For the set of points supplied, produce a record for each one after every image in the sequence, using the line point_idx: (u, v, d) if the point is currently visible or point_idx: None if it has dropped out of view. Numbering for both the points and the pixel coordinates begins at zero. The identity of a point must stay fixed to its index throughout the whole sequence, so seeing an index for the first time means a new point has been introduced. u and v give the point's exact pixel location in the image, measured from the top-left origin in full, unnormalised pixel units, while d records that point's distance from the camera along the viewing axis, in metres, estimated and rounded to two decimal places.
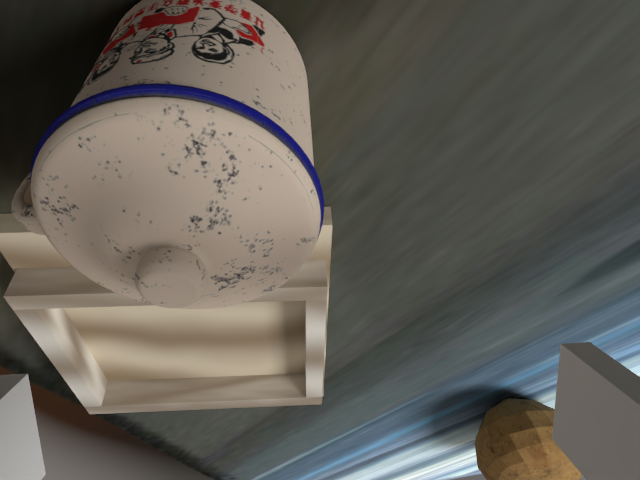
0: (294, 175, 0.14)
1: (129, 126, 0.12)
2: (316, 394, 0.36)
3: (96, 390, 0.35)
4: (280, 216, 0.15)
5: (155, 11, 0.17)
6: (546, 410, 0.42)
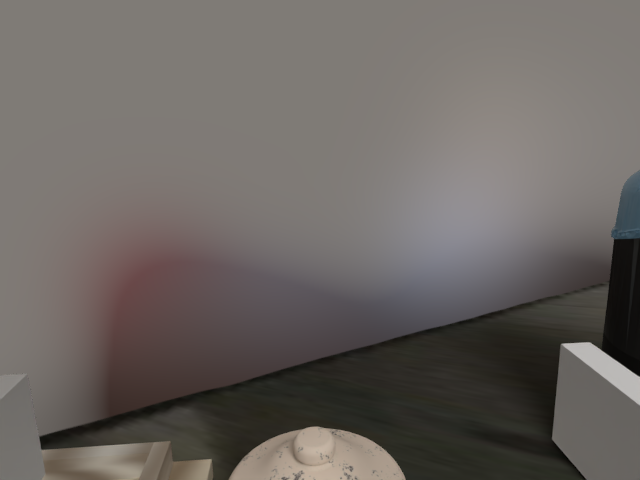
0: None
1: (392, 464, 0.24)
2: None
3: None
4: None
5: None
6: None
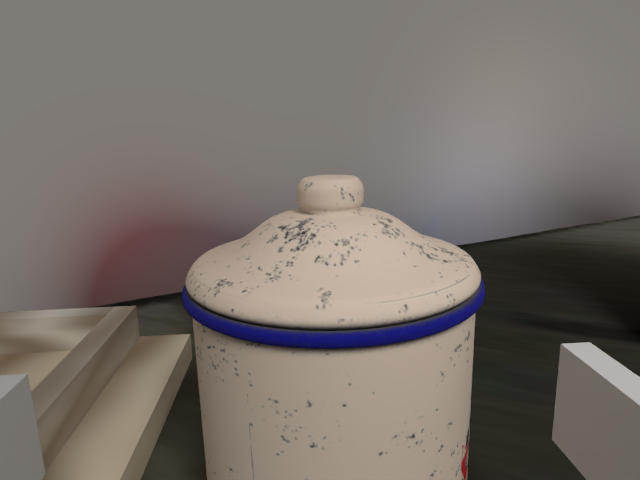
0: (433, 291, 0.12)
1: (448, 243, 0.16)
2: None
3: None
4: (376, 274, 0.12)
5: None
6: None
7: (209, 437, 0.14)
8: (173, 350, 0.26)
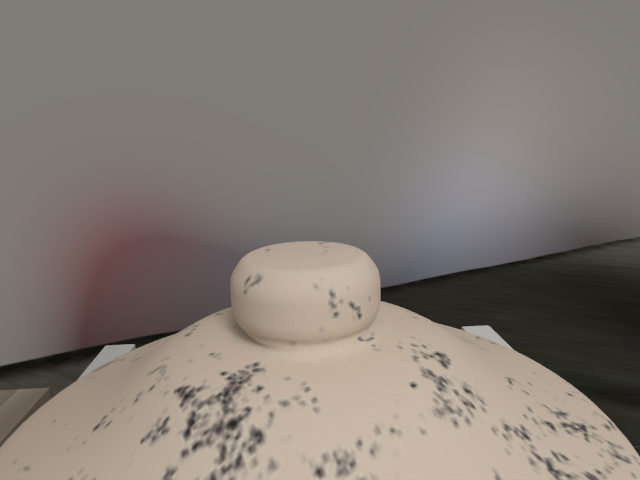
0: None
1: (546, 372, 0.08)
2: None
3: None
4: None
5: None
6: None
7: None
8: None
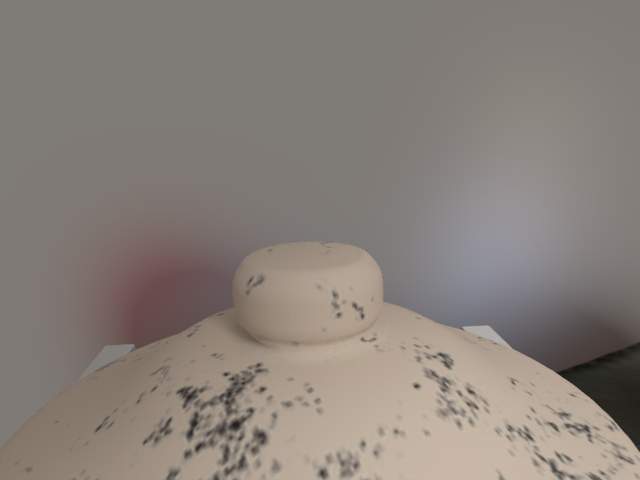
0: None
1: (549, 372, 0.08)
2: None
3: None
4: None
5: None
6: None
7: None
8: None
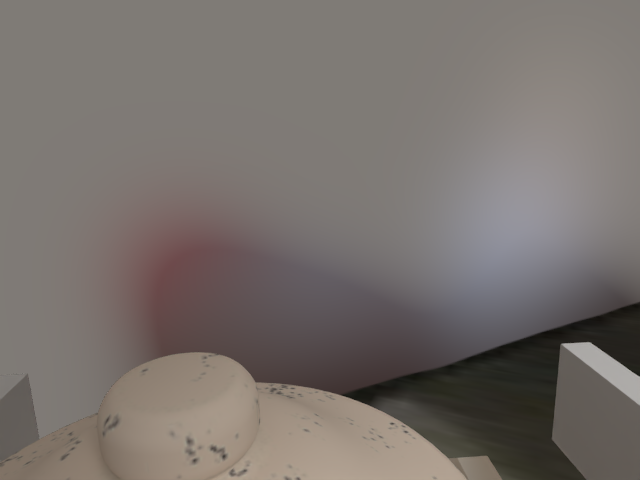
0: None
1: (449, 473, 0.08)
2: None
3: None
4: None
5: None
6: None
7: None
8: None
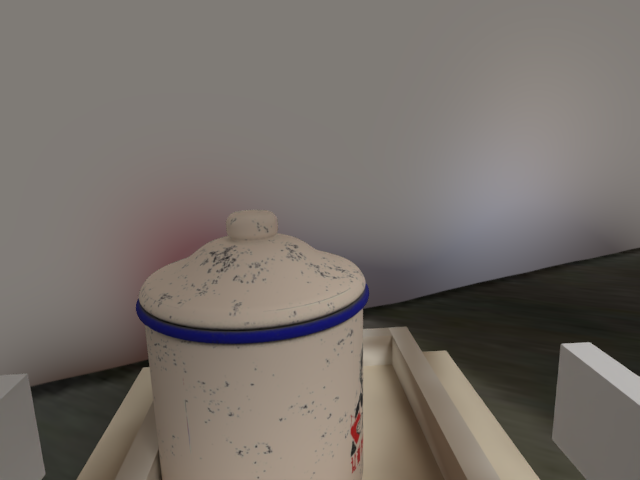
0: (316, 301, 0.16)
1: (348, 261, 0.20)
2: None
3: None
4: (277, 289, 0.16)
5: None
6: None
7: (158, 413, 0.18)
8: (449, 365, 0.31)
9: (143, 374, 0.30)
